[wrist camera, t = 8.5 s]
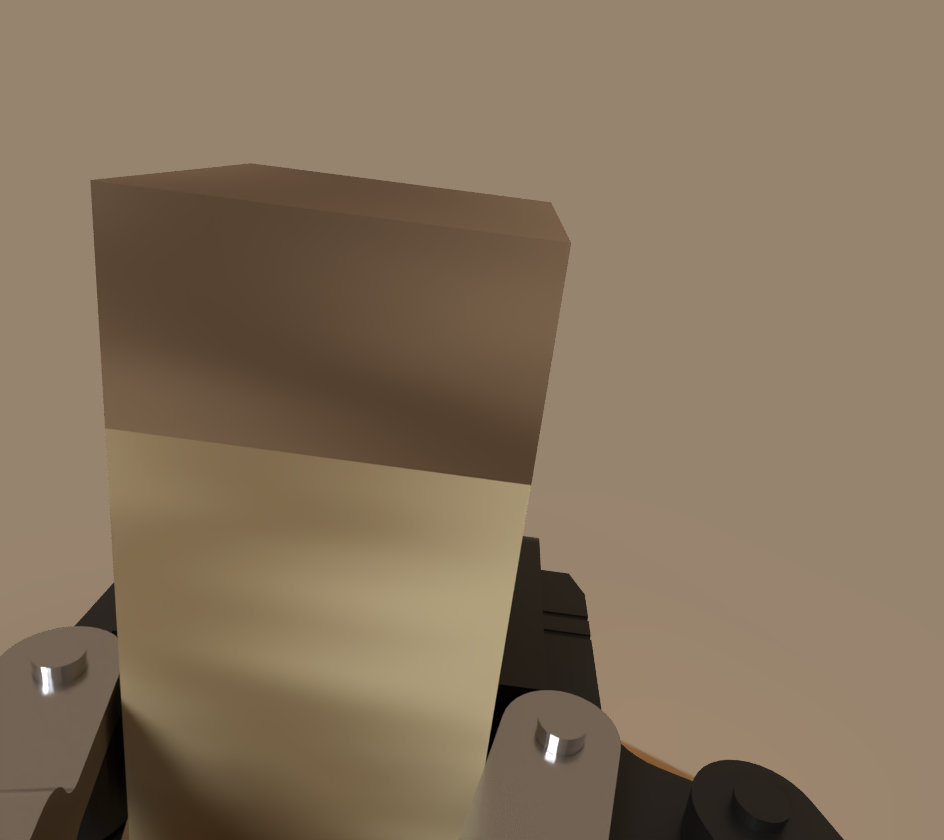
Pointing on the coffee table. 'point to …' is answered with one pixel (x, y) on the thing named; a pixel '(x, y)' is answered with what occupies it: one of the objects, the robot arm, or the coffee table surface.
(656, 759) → the coffee table surface
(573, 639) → the robot arm
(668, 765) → the coffee table surface
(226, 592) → the mottled beige block
